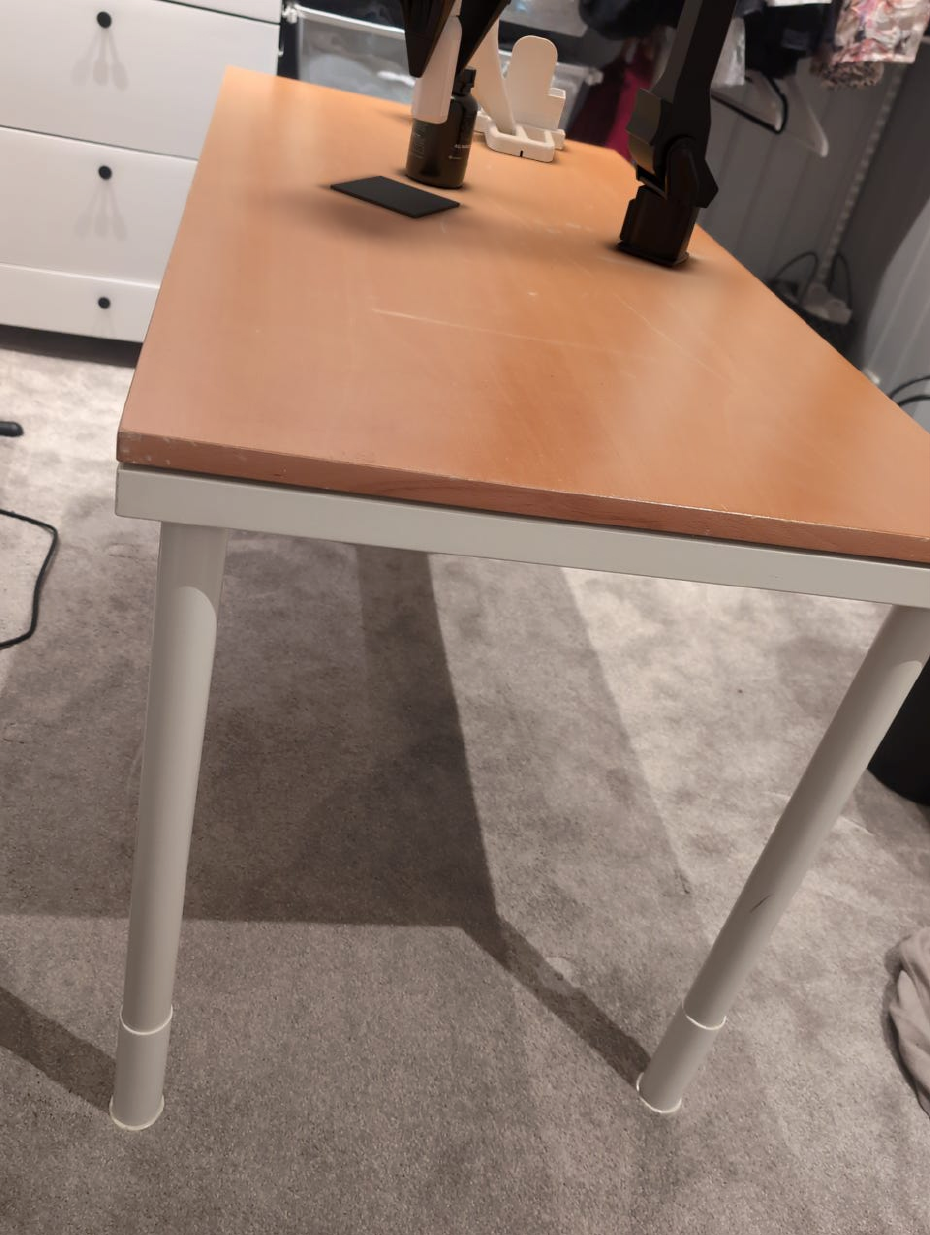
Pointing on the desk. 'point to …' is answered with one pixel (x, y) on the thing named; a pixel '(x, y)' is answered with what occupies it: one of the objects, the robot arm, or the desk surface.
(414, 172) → the supplement bottle
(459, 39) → the eye dropper bottle
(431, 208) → the coaster
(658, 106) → the robot arm
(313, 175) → the desk surface
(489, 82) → the jewelry stand
